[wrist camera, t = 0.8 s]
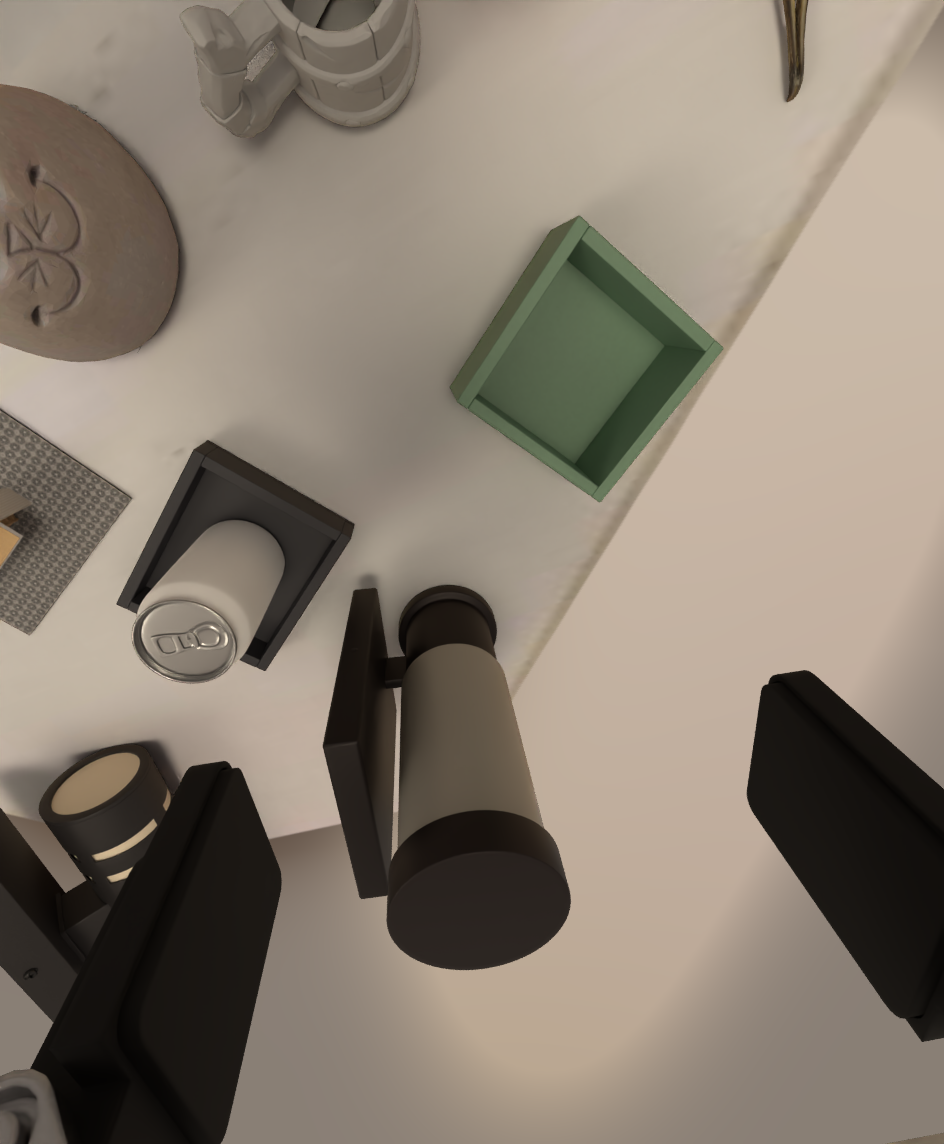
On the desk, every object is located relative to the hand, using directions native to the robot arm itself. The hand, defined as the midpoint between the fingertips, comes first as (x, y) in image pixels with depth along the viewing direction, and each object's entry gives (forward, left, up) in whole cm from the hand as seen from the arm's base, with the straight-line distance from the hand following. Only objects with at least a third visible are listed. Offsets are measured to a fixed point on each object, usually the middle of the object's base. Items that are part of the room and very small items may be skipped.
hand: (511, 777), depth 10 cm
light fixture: (+9, -14, -33) cm, 37 cm away
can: (-7, -16, -33) cm, 37 cm away
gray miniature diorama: (-22, -23, -33) cm, 46 cm away
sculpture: (-23, -3, -33) cm, 41 cm away
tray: (-7, -16, -33) cm, 38 cm away
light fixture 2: (-10, -40, -27) cm, 50 cm away
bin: (+5, +9, -33) cm, 34 cm away
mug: (-16, +13, -33) cm, 39 cm away
